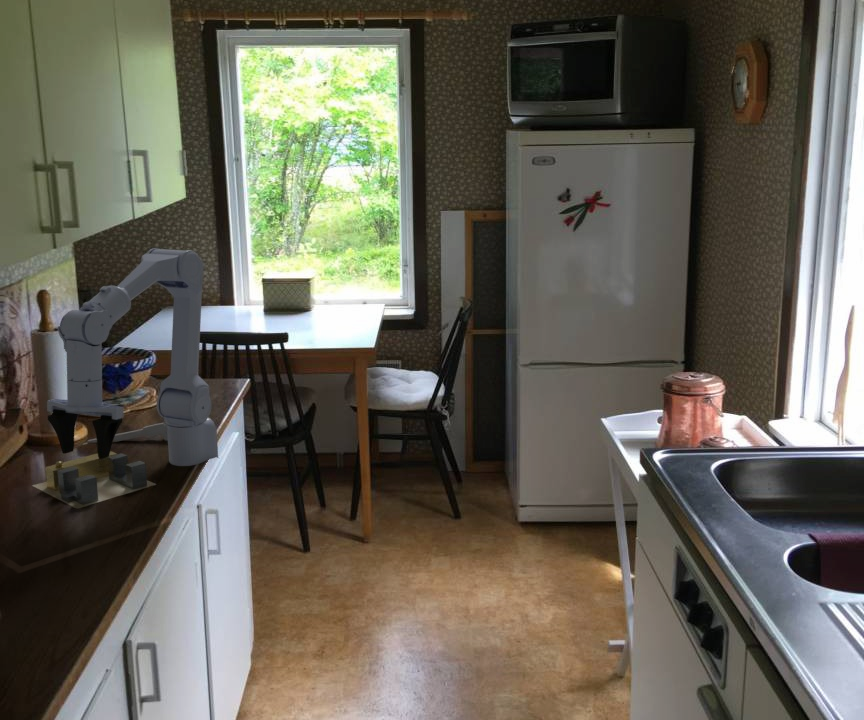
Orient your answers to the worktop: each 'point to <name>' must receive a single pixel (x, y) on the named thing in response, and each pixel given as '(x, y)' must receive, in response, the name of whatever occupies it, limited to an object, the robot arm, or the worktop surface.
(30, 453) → the worktop surface
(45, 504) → the worktop surface
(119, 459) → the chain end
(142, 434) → the caliper
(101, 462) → the master link
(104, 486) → the jig board
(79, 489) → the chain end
